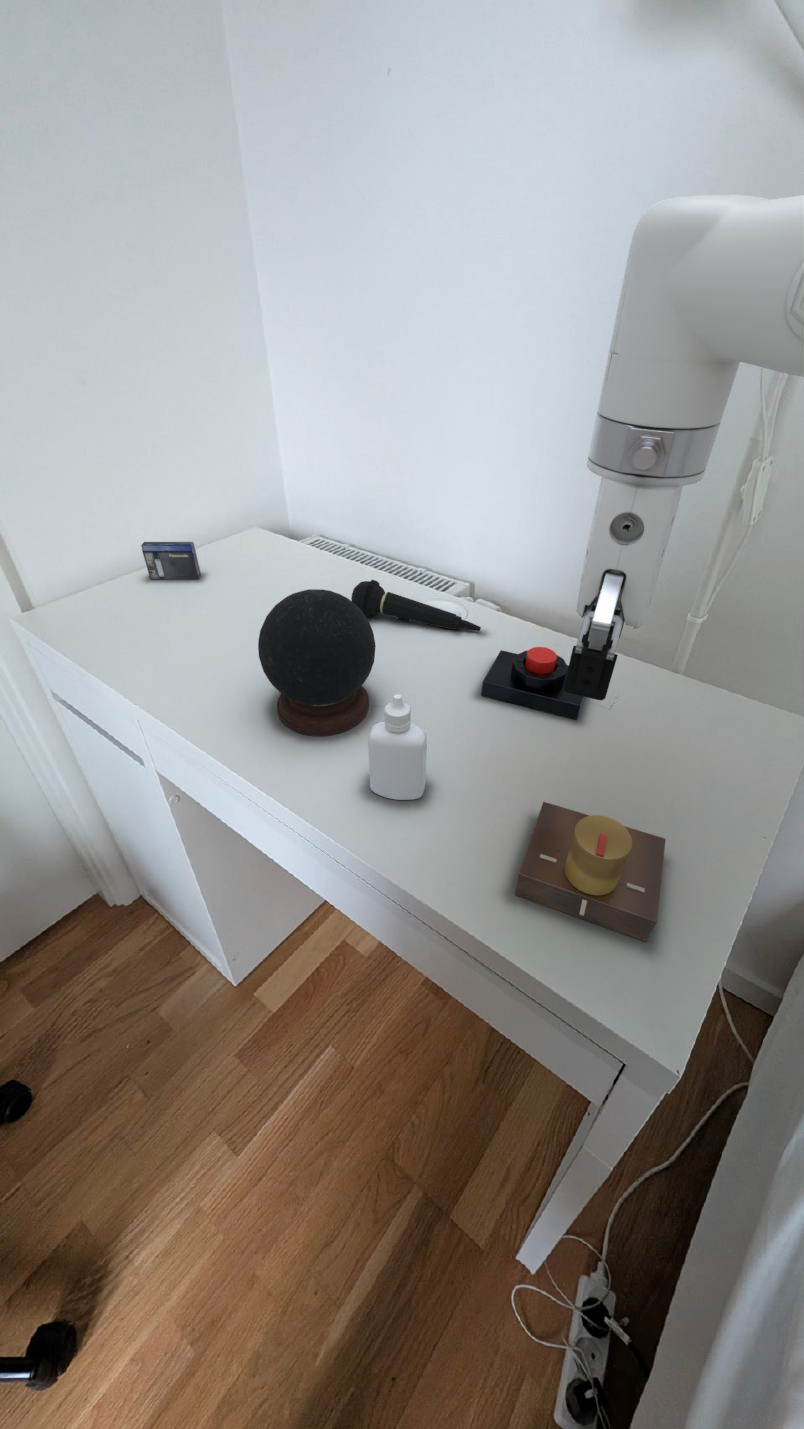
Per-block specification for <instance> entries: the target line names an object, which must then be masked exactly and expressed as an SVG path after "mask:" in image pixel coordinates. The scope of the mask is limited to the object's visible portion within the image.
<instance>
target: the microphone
mask: <svg viewBox="0 0 804 1429" xmlns="http://www.w3.org/2000/svg"><path fill="white" fill-rule="evenodd" d="M380 584H381V583H380V582H379V581H378V580H375V579H371V580H364V581H360V582H359V583H358V584H357V585H355V586H354V588H353V590H352V592H351V597H350V600H351V601H352V602H353V603H354V604H355V605H356V606H358V607H359V608H360V609H361V611H362V612H363V613H364V615H365V616H366V618H369V619H370V618H371V617H373V616H376V615H378V614H380V613H381V614H382V615H385V616H390V617H394V618H397V619H398V620H399V621H403V622H410V621H413V622H417V623H422V624H426V625H431V626H435V627H439V628H445V629H449V630H453V629H454V630H459V629H461V630H466V631H467V630H468V631H473V632H474V631H477V632H480V631H481V629H482V627H481V626H479V625H477V624H475V623H473V622H470V621H468V620H465V619H463V618H462V616H458V615H457V614H456V613H453V612H450V611H447V610H444V609H441V608H438V607H435V606H432V605H429V604H427V603H423V602H419V601H417V600H415V599H412V598H408V597H405V596H403V595H399V594H396V593H393V592H389V591H387V592H386V591H385V589H384V588H383V587H382V586H381V585H380Z"/></svg>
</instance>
